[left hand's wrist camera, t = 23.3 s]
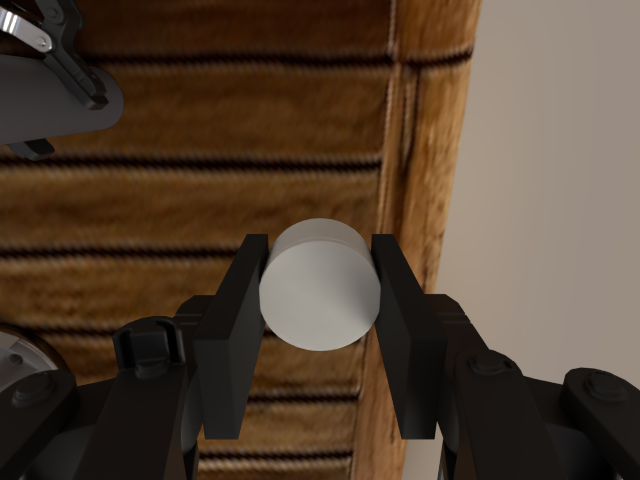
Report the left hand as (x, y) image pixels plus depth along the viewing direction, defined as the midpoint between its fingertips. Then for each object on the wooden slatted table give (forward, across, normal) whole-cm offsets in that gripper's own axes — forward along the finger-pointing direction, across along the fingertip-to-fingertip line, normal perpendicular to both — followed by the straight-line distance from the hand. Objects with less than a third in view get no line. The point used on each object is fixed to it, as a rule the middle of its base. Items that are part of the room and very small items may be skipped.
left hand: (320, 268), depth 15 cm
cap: (-2, 0, 0) cm, 2 cm away
